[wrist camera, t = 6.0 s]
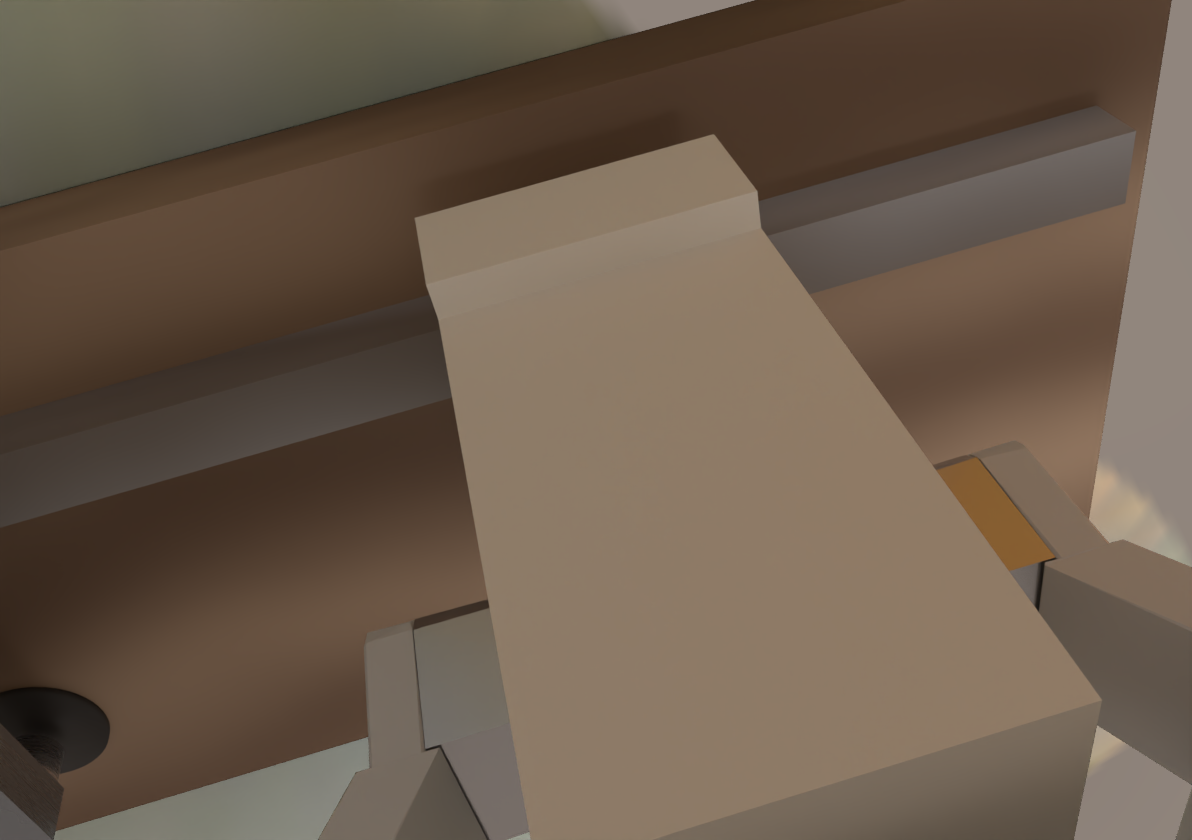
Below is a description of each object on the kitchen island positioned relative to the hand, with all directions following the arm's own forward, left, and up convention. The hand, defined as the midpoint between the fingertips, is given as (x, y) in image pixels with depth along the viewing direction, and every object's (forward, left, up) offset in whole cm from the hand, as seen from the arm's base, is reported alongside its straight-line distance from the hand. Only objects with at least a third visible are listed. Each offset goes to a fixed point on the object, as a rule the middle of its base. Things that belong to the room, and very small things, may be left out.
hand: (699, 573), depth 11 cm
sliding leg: (-2, 0, -6) cm, 6 cm away
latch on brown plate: (-3, +3, -8) cm, 9 cm away
